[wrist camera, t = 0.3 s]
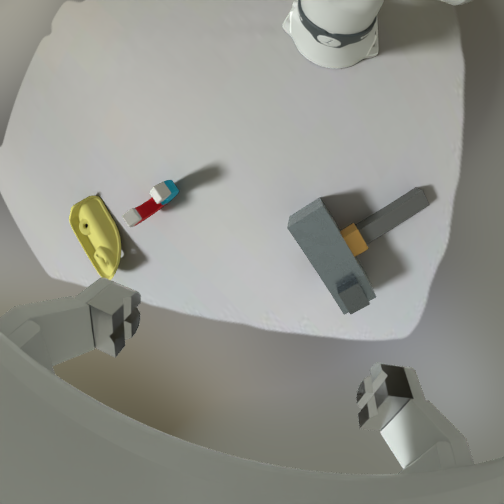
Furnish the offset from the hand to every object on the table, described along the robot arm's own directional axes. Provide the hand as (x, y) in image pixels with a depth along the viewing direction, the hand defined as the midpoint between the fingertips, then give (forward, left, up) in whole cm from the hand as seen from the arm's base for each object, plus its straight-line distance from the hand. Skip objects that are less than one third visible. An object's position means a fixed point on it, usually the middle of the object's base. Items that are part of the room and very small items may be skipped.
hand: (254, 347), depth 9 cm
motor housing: (+11, +11, -47) cm, 49 cm away
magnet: (+11, -25, -47) cm, 54 cm away
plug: (+2, +18, -47) cm, 50 cm away
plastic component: (+25, -41, -47) cm, 67 cm away
